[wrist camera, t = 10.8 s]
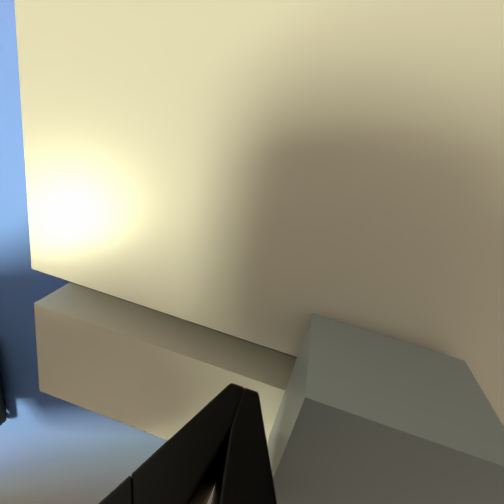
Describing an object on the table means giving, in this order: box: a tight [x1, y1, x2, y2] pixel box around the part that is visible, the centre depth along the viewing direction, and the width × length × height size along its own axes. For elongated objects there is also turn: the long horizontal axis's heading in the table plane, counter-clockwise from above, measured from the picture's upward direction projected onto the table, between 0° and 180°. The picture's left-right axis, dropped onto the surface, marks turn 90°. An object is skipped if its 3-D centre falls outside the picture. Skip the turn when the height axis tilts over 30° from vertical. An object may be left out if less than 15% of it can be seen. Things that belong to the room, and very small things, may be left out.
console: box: [15, 0, 504, 444], centre depth 8 cm, size 22×22×3 cm
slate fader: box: [267, 313, 504, 504], centre depth 9 cm, size 4×5×5 cm
